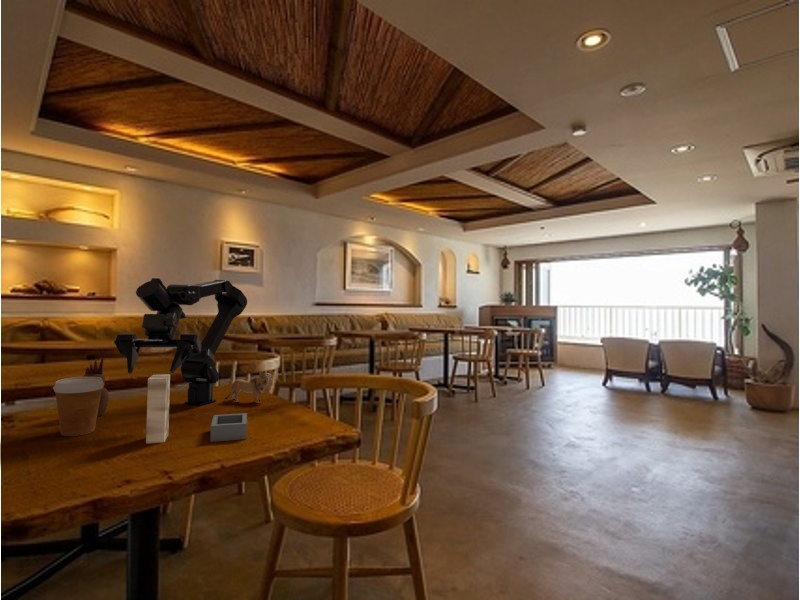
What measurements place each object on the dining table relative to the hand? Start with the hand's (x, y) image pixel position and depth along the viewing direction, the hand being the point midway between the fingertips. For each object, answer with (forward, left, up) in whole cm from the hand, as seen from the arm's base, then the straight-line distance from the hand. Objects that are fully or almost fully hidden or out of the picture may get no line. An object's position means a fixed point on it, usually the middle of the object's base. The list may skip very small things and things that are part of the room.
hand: (150, 372), depth 102 cm
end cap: (-5, +20, -14) cm, 24 cm away
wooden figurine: (-2, -22, -14) cm, 26 cm away
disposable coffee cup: (+8, -12, -14) cm, 20 cm away
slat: (+4, +8, -14) cm, 16 cm away
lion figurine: (-33, +3, -14) cm, 35 cm away
